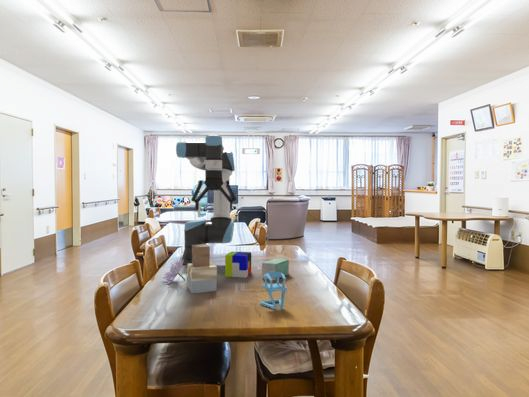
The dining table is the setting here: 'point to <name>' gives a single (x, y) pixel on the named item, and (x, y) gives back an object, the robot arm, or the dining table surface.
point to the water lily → (174, 271)
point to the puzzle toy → (238, 264)
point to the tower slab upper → (202, 272)
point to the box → (275, 267)
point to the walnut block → (200, 255)
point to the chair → (274, 289)
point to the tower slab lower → (201, 285)
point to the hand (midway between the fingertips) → (214, 216)
